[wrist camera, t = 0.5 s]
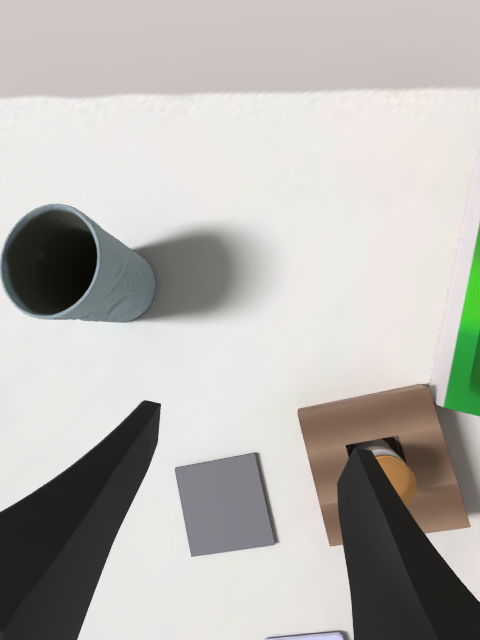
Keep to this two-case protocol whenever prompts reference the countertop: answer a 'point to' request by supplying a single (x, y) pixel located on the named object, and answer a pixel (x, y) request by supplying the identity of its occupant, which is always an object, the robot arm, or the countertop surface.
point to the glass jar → (393, 468)
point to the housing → (412, 446)
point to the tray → (461, 316)
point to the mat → (224, 505)
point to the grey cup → (73, 269)
